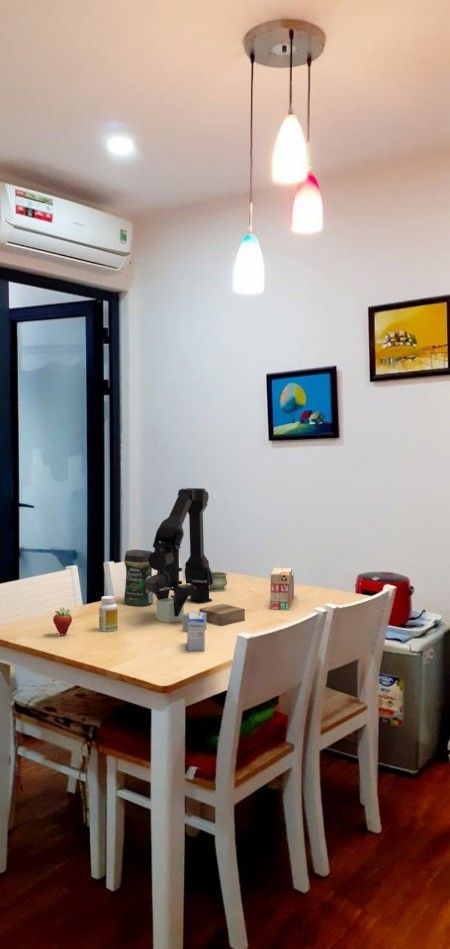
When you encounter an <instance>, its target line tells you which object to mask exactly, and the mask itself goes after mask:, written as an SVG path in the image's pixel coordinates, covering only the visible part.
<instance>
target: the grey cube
mask: <svg viewBox="0 0 450 949" xmlns="http://www.w3.org/2000/svg"><path fill="white" fill-rule="evenodd" d="M190 612H196V611H195V610H193V611H192V610H191V611H190ZM203 614H204V619H205V631H207V622H206V613H203ZM182 632H186V633H188V612H186V613H184V614H183V620H182Z"/></svg>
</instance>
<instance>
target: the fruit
mask: <svg viewBox="0 0 450 949" xmlns="http://www.w3.org/2000/svg"><path fill="white" fill-rule="evenodd" d="M70 610H71V609H70V608H68V609H66V610H65V607H60V609H59V611H58V610H54V613H56V614H55V615H54V616H53V618H52V622H53V624H54V626H55V628H56V631H57V632H58V633H59V634H60V635H61V634H63V635H62V636H65V634H66V635H67V633H68V631H69V627H70V626H71V624H72V620H73V617H72V616H71V615H72V613H70Z"/></svg>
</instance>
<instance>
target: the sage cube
mask: <svg viewBox="0 0 450 949" xmlns="http://www.w3.org/2000/svg"><path fill="white" fill-rule="evenodd" d="M155 603H156V604H155V605H156V608H155V609H156V613H155V614H156V621H157V620H158V621H161V622H165V623H168V624H169V623H170V624H171V623H174V622H178V621H183V614H185V612H184V606H185V605H183V607H182V609H181V611H180V613H179V615H178V616H177V617H176V616H175V613H174V600H173V599H172V598H171V597H168V598H166V599H161V600H158V599H156V602H155Z"/></svg>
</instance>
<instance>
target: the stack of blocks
mask: <svg viewBox="0 0 450 949" xmlns="http://www.w3.org/2000/svg"><path fill="white" fill-rule="evenodd" d="M292 569H293V568H292V567H280V566H279V567H274V568H273V570H272V572H271V573H270V606H269V608H270V610H271V611H290V609H289V608H291V607H292V603H293V600H294V597H295V580H294V579H295V578H294V577H295V576H294V575H295V574H294V571H293V570H292Z"/></svg>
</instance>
